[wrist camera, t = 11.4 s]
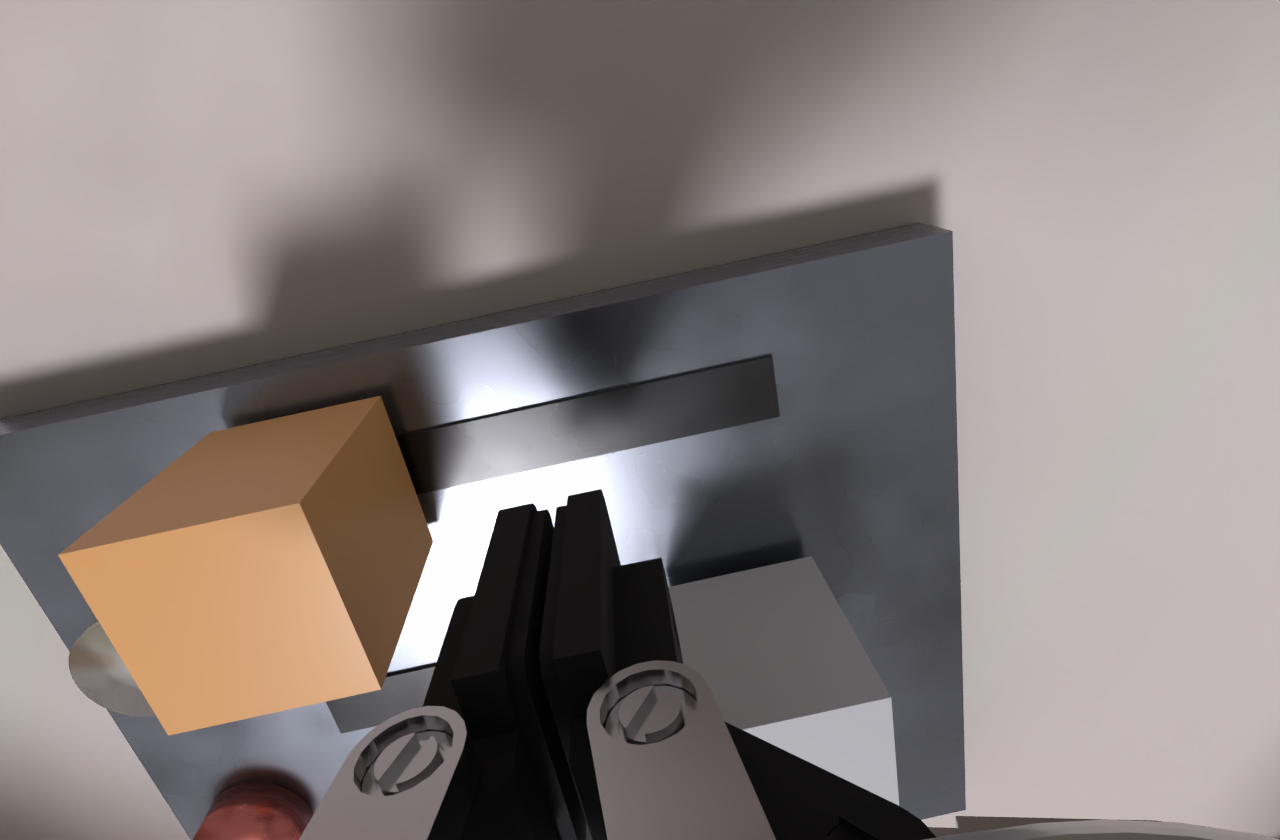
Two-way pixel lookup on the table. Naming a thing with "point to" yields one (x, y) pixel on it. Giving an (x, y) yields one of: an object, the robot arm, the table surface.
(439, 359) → the panel
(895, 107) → the table surface
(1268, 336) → the table surface
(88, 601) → the orange slider
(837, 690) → the grey slider
